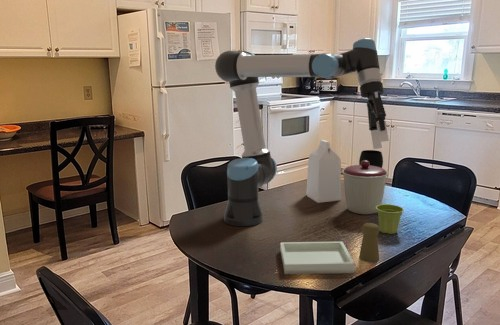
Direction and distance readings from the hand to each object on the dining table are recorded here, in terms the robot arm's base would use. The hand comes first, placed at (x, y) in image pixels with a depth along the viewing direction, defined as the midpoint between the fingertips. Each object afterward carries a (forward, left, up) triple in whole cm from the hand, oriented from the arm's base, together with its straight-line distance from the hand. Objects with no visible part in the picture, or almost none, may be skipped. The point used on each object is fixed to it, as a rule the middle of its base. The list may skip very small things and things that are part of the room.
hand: (380, 145), depth 145 cm
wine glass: (+12, +50, -32) cm, 61 cm away
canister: (+3, +27, -32) cm, 43 cm away
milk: (-10, +46, -32) cm, 58 cm away
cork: (-7, -18, -32) cm, 38 cm away
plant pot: (+6, +4, -32) cm, 33 cm away
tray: (-24, -20, -32) cm, 45 cm away
